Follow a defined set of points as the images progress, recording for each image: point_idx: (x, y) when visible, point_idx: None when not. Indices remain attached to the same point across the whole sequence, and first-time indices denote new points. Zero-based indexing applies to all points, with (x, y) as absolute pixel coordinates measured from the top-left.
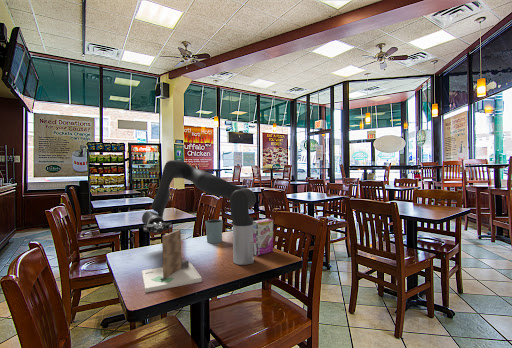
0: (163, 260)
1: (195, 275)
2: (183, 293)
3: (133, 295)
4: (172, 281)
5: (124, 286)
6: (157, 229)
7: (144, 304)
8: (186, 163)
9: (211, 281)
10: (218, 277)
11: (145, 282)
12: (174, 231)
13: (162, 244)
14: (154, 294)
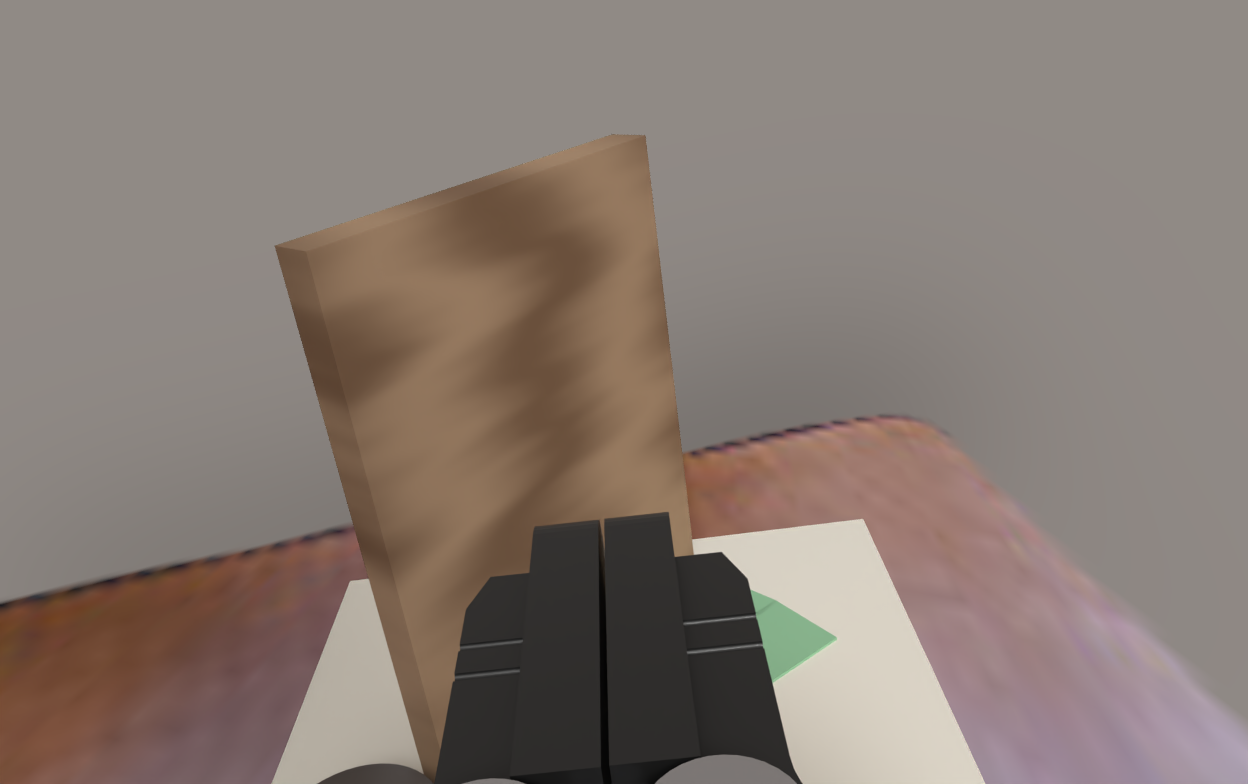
0: (673, 438)
1: (372, 627)
2: None
3: (958, 535)
4: None
5: (1150, 691)
6: (710, 573)
7: (836, 445)
8: None
9: (285, 600)
10: (177, 649)
11: (887, 603)
12: (415, 209)
13: (657, 250)
14: (781, 521)
